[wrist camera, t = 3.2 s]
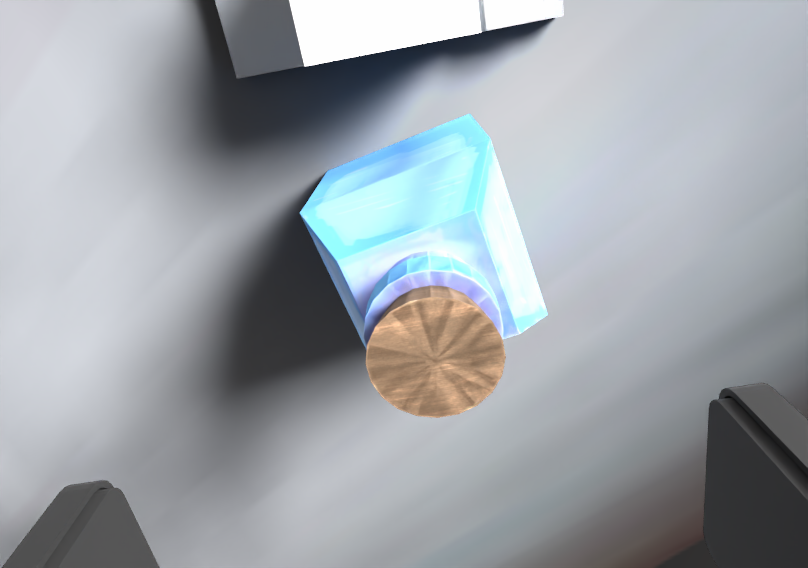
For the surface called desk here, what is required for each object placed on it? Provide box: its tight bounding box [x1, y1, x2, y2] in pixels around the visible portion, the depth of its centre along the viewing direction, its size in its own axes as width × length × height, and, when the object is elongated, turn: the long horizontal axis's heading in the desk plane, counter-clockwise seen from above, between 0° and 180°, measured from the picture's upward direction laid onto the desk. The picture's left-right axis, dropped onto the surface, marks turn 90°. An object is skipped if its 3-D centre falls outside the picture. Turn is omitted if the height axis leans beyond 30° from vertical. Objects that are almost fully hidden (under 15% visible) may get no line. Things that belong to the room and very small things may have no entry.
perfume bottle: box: [300, 114, 548, 418], centre depth 18 cm, size 6×6×12 cm
